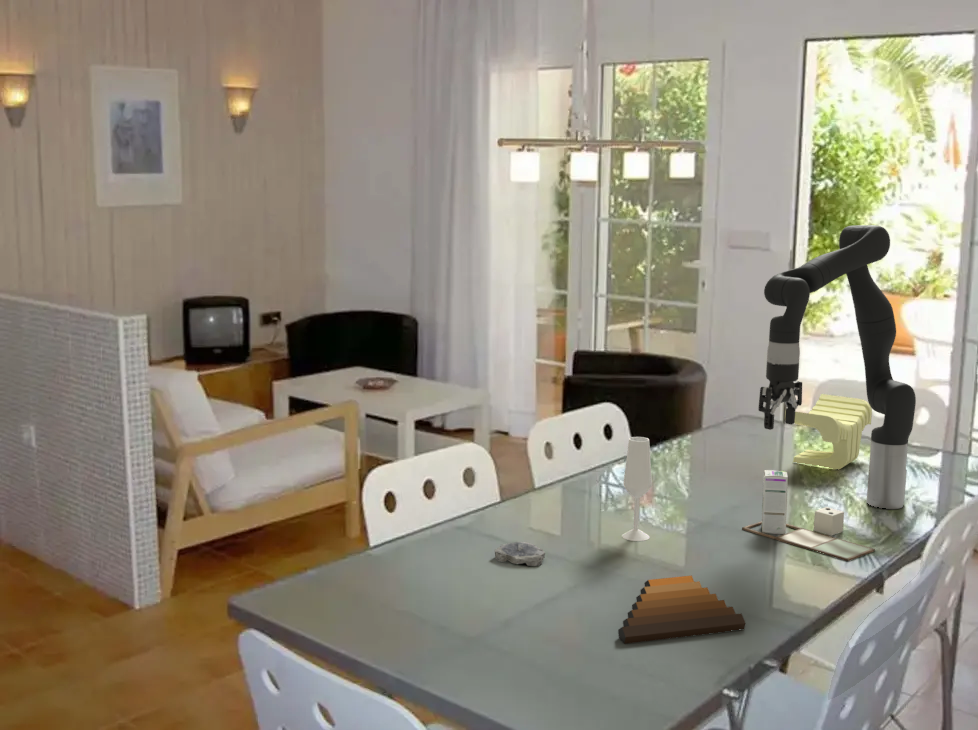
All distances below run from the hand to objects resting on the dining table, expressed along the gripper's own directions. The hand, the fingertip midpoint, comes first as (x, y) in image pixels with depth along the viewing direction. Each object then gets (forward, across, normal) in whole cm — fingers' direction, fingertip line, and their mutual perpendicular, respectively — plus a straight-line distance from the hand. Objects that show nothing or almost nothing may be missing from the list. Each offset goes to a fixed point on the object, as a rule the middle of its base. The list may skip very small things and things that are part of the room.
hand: (779, 426), depth 279 cm
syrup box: (+26, 0, 0) cm, 26 cm away
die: (+26, -10, +9) cm, 29 cm away
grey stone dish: (+27, +62, -24) cm, 72 cm away
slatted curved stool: (+26, -66, -28) cm, 76 cm away
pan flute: (+27, +62, +17) cm, 70 cm away
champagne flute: (+26, +30, -18) cm, 44 cm away
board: (+26, 0, +10) cm, 28 cm away
